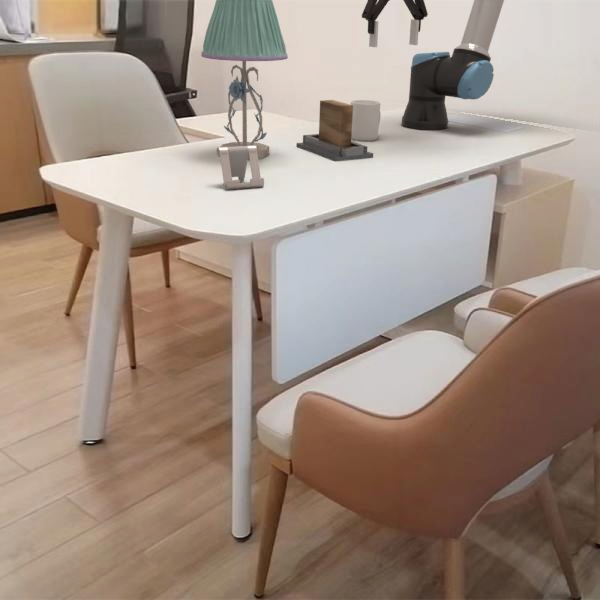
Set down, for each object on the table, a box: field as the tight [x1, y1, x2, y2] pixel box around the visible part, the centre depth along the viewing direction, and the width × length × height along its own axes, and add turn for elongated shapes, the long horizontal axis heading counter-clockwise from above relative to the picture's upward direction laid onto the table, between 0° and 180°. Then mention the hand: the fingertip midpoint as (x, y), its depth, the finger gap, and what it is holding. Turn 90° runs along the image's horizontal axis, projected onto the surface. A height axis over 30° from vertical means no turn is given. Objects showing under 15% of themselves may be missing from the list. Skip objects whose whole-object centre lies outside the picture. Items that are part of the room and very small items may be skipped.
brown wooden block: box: [318, 99, 353, 148], centre depth 198 cm, size 4×10×12 cm, turn 30°
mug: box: [350, 99, 381, 142], centre depth 218 cm, size 9×12×11 cm
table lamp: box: [200, 0, 289, 161], centre depth 186 cm, size 22×22×40 cm
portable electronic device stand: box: [216, 145, 265, 191], centre depth 163 cm, size 9×8×8 cm
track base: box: [296, 133, 374, 162], centre depth 200 cm, size 12×20×3 cm, turn 30°
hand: (393, 45), depth 201 cm, fingers open, 13 cm apart
